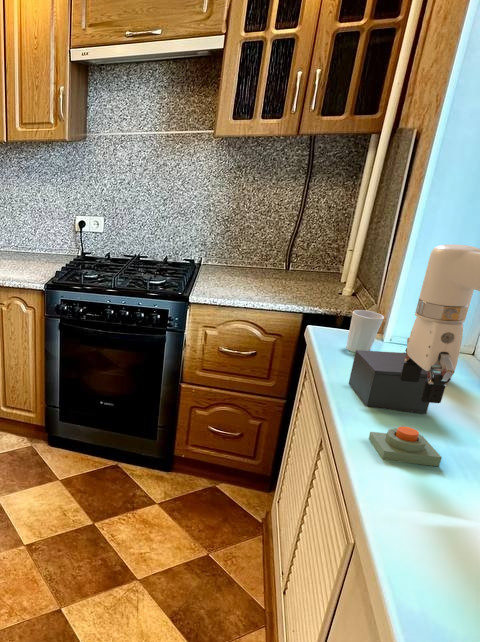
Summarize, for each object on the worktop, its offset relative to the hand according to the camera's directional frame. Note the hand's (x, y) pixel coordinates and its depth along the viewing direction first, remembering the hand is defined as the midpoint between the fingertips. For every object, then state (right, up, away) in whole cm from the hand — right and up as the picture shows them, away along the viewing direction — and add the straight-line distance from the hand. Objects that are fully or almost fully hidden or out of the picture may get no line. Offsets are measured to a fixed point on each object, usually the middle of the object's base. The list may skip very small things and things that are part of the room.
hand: (419, 391), depth 106 cm
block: (0, -14, +5) cm, 14 cm away
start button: (0, -10, +3) cm, 11 cm away
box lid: (+13, +4, +24) cm, 28 cm away
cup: (+26, +6, +57) cm, 63 cm away
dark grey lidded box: (+13, -5, +27) cm, 31 cm away
